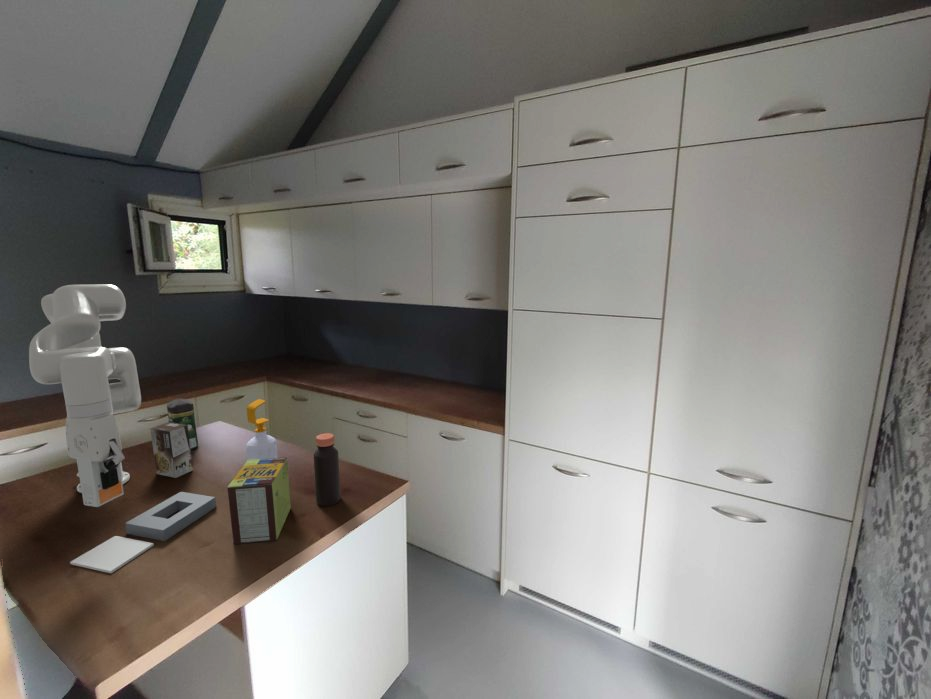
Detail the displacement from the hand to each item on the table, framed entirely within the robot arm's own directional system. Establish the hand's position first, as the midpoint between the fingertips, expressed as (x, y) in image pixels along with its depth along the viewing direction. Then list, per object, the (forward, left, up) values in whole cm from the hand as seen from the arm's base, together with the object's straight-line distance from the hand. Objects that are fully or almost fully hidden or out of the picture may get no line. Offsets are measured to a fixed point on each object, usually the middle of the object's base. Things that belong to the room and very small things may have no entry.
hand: (102, 484), depth 96 cm
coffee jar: (-37, +54, -18) cm, 68 cm away
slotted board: (+1, +15, -18) cm, 23 cm away
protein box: (+26, +19, -18) cm, 37 cm away
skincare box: (0, 0, -4) cm, 4 cm away
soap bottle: (+5, +45, -18) cm, 49 cm away
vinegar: (+36, +34, -18) cm, 53 cm away
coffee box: (-23, +37, -18) cm, 47 cm away
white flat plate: (0, 0, -18) cm, 18 cm away
